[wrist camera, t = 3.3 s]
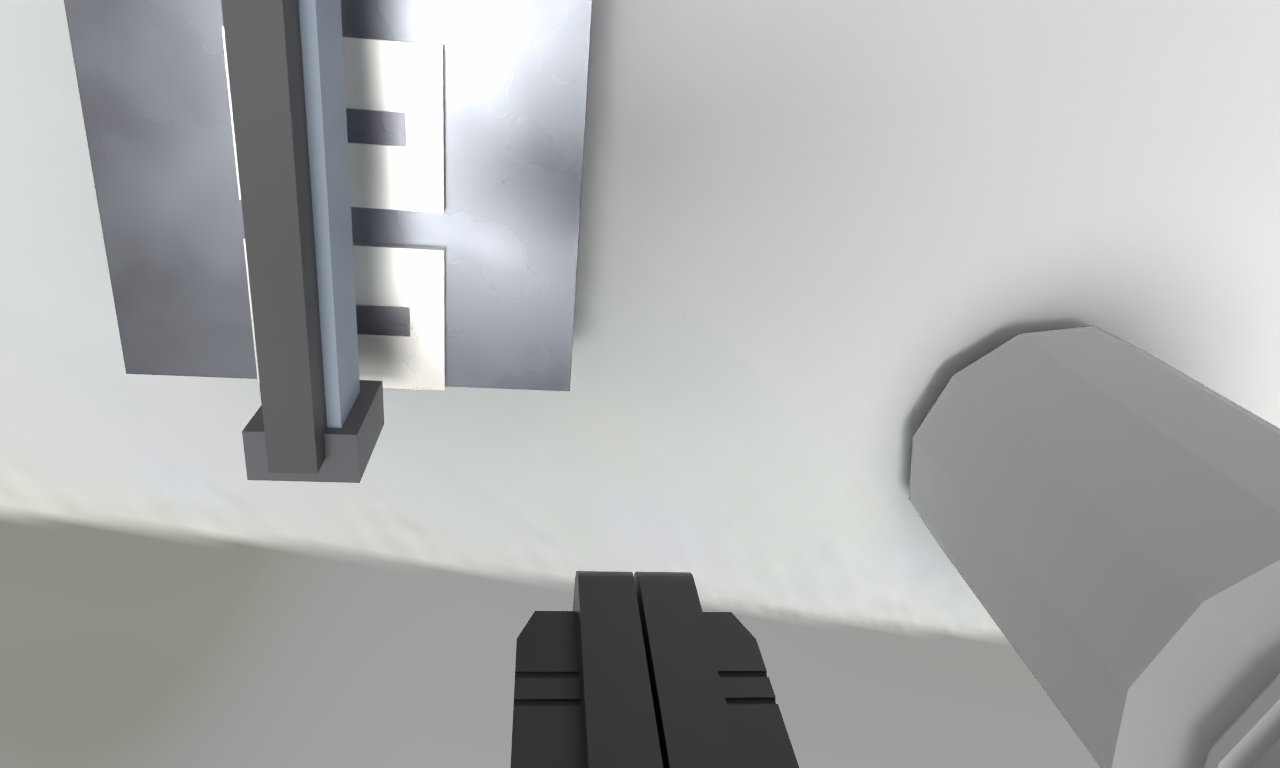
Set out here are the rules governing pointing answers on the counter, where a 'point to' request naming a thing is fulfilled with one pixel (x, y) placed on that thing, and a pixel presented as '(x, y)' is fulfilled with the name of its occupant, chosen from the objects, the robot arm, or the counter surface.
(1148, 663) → the jar
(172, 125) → the grey block
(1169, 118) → the counter surface
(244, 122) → the bar
